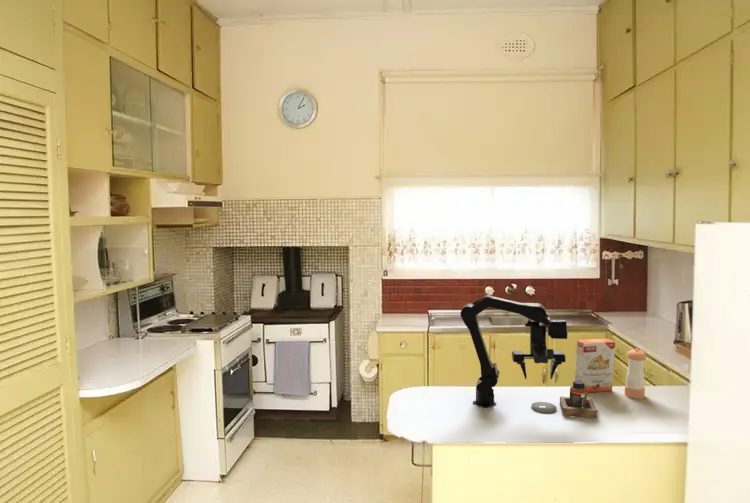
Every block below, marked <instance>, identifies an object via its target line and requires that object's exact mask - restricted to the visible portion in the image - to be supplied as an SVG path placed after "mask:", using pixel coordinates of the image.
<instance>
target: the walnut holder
mask: <svg viewBox="0 0 750 503" xmlns="http://www.w3.org/2000/svg"><path fill="white" fill-rule="evenodd" d="M569 401H570V396H559V406H560V410H562V411H561V414H562V417H570V416H574V417H573V418H582V417H584V418H585V419H594V418H597V419H598V410H597V407H596V405H595V403H594V400H593V398H589V397H588V398H587V402H586V408H576V407H569ZM567 405H568V406H567ZM587 407H588V408H587ZM584 418H583V419H584Z"/></svg>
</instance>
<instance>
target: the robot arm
mask: <svg viewBox="0 0 750 503" xmlns="http://www.w3.org/2000/svg"><path fill="white" fill-rule="evenodd" d="M488 308H492V309H497V310H501V311H504V312H505V311H506V312H509V313H514V314H519V315H521V316H523V317H524V318H527V321H525V322H524V327H527V328H529V349H530V350H529V353H524V351H523V350H513V351H512V352H511V360H512V362H513V363H516V365H519V366H520V368H521V371H522V374H523V376H524V379H525V380H527V370H526V361H525V360H526V359H527V360H533V362H534V363H535V364H548V362H549V360H550V367H549V368H550V369H549V370H550V371H549V377H550V378H549V379H550V380H552V379H553V377H554V375H555V372H556V370H557V367H559V365H562V363H566V357H567V356H566V354H565V353H564V352H563V351H562V350H554V349H553V348H548V347H547V336H549V338H550V339H552V340H554V339H555V340H568V328H567V320H565V319H561V320H554V319H553V320H552V319H551V318H550V316H549V315H548V314H547V310H546V307H545V306H544V305H543V304H542V303H539V302H538V303H537V302H520V301H515V300H510V299H507V298H506V299H504V298H503V297H498V296H493V295H490V294H486V295H484V296H483V297H481V298H479V299H477V300H476V301H474V302H472V303H466V304H465V305H464V306H463V307H462V308H461V310H460V317H461V319H462V322H463V323H464V325H465V327H466V328H467V329H468V331H469V333H470V334H469V335H470V337H471V340H472V344H473V346H474V349H475V352H476V355H477V358H478V362H479V365H480V375H481V376H480V377H478V379H477V383H476V385H475V386H476V387H475V400H473V401H472V403H473V404H475V405H477V406H480V407H482V408H484V409H485V408H488V407H491V406H494V405H497V402H496V401H495V393H494V389H493V388H494V387H496V386H497V384H498V381H499V377H500V370H499V369H498V366H497V362H495V363H493V361H492V360H491V358H490V355H489V353H488V350H487V347H486V342H485V340H484V337H483V333H482V331H481V328H480V324H479V321H480V320H479V314H481V313H482V312H483V311H485V310H486V309H488Z"/></svg>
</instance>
